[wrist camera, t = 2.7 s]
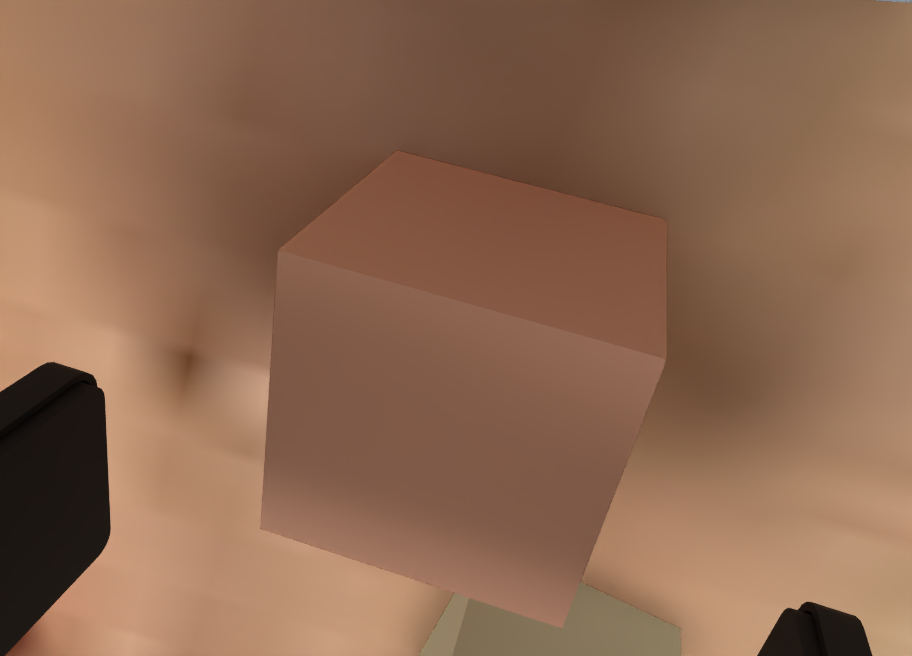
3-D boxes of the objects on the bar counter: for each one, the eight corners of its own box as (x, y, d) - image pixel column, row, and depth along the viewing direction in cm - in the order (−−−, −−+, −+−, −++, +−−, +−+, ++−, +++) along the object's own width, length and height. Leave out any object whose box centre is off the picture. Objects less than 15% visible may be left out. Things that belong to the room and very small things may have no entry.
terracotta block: (397, 149, 14) (278, 250, 9) (666, 218, 13) (667, 359, 9) (366, 370, 16) (260, 528, 12) (590, 436, 16) (561, 628, 11)
